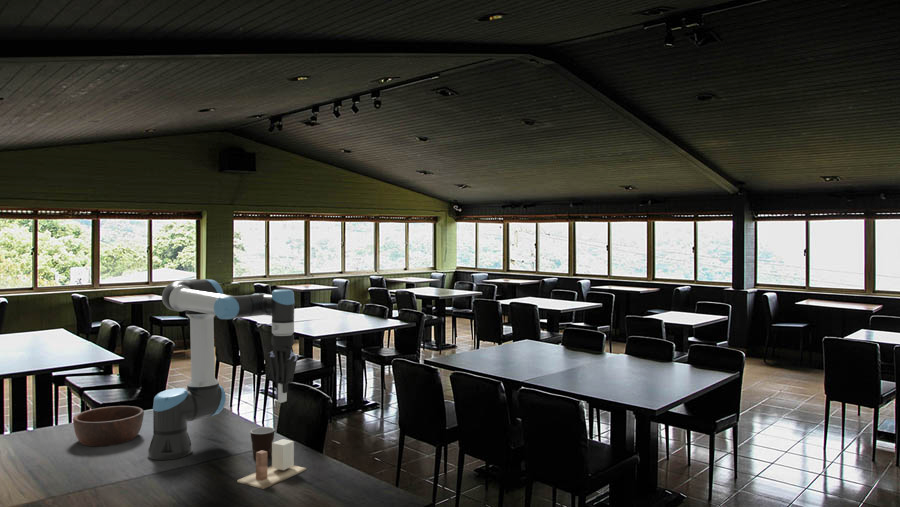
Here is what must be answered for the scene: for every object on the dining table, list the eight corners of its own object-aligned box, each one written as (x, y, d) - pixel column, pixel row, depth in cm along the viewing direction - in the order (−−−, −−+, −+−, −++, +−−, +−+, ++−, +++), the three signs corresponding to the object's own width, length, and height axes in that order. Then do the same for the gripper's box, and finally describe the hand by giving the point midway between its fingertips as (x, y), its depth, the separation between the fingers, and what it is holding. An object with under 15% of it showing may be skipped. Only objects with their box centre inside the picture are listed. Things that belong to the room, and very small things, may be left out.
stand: (237, 481, 209) (237, 453, 209) (280, 463, 227) (280, 437, 226) (263, 489, 203) (263, 459, 203) (305, 469, 221) (306, 442, 221)
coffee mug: (267, 462, 228) (267, 434, 228) (245, 460, 230) (245, 433, 229) (282, 451, 239) (282, 425, 239) (261, 450, 241) (261, 424, 241)
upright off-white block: (271, 467, 218) (272, 442, 218) (282, 463, 223) (282, 438, 223) (283, 470, 216) (283, 445, 216) (293, 465, 220) (293, 441, 220)
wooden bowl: (156, 436, 256) (156, 411, 256) (94, 453, 235) (94, 426, 235) (122, 426, 270) (122, 402, 270) (60, 441, 249) (60, 415, 249)
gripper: (261, 333, 218) (260, 401, 219) (289, 337, 212) (288, 406, 213) (276, 331, 225) (276, 396, 225) (304, 334, 219) (304, 401, 219)
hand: (282, 401), depth 219 cm, fingers closed
